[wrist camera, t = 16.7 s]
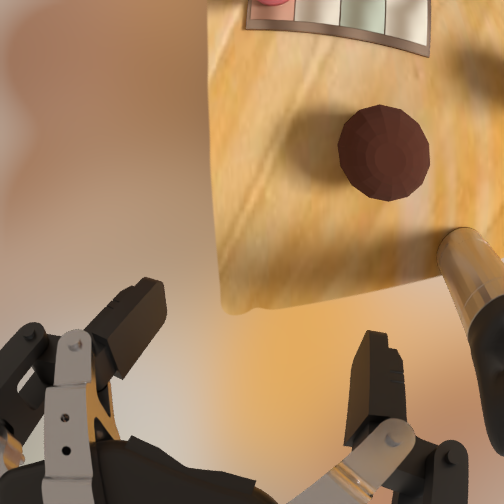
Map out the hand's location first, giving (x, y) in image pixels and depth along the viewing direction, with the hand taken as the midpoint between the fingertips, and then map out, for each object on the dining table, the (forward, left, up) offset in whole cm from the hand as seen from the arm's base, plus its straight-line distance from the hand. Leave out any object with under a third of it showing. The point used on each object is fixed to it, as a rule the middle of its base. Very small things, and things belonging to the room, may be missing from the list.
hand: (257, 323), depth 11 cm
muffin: (-8, -3, -34) cm, 35 cm away
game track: (-1, -24, -34) cm, 41 cm away
